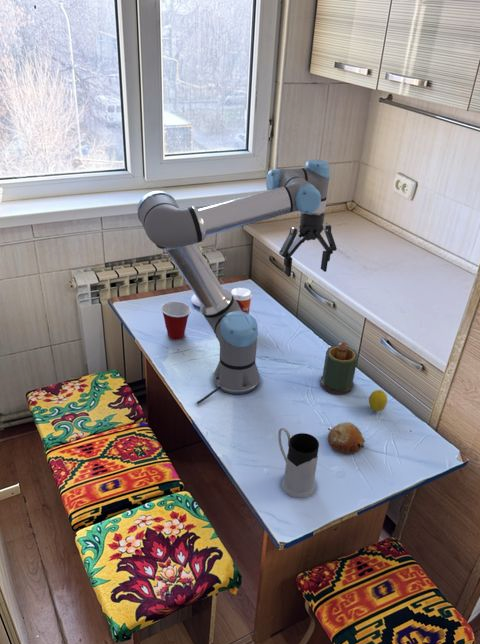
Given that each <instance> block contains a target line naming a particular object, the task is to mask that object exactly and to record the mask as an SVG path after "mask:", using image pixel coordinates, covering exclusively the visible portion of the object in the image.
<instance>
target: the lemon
mask: <svg viewBox="0 0 480 644" xmlns="http://www.w3.org/2000/svg"><path fill="white" fill-rule="evenodd" d="M387 404H388V396H387V394H386V392H385V391H383V390H381V389H376V390H374V391H372V392H371V393H370V396H369V398H368V405H369V407H370V409H371V410H372V411H375V412H380V411H381V412H382V411H383V410H384V409H385V408H386V406H387Z"/></svg>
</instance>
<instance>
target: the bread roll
mask: <svg viewBox="0 0 480 644" xmlns="http://www.w3.org/2000/svg"><path fill="white" fill-rule="evenodd" d="M327 441H328V444H329V446H330V447H331V448H332V449H333V450H334V451H336V452H338V453H342V454H344V455H345V454H347V455H352V454H356V453H358V452H359V451H361V450H362V448H365V445H364V443H365V442H366V440H365V438H364V437H363V434H362V431H361V430H360V429H359V427H358V426H356V425H355V424H354V423H352V422H347V421H346V422H340V423H338V424H337V425H335V426H334V427H332V428H331V429H330V431H329V432H328V435H327Z"/></svg>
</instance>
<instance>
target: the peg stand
mask: <svg viewBox="0 0 480 644" xmlns="http://www.w3.org/2000/svg"><path fill="white" fill-rule="evenodd" d="M337 345H338V346H337ZM337 345H336V346H337V349H338V351H337V357H336V359H339V360H346V354H347V351H348V348H349V347H350V346H349V344H348V342H346V341H339V342H338V344H337ZM322 376H323V374H322ZM322 376H320V382H319V383H320V386H321V388H322V389H323V390H324V391H325V392H327V393H329V394H332V395H337V396H338V395H339V396H341V395H342V396H343V395H347V394H349V393H350V392H352V391H353V389H354V382H353V384H352V386H351V387H350V388H348V389H346V390H335V389H331V388H329V387H328V386H326V385H325V384H324V383H323V380H322Z"/></svg>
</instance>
